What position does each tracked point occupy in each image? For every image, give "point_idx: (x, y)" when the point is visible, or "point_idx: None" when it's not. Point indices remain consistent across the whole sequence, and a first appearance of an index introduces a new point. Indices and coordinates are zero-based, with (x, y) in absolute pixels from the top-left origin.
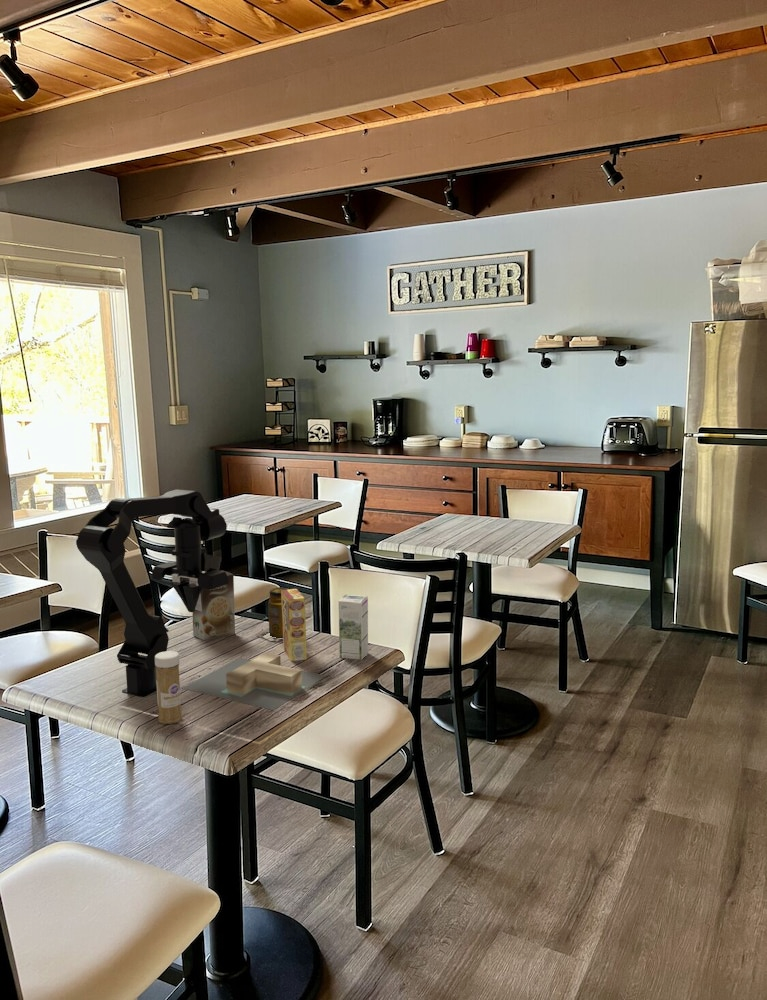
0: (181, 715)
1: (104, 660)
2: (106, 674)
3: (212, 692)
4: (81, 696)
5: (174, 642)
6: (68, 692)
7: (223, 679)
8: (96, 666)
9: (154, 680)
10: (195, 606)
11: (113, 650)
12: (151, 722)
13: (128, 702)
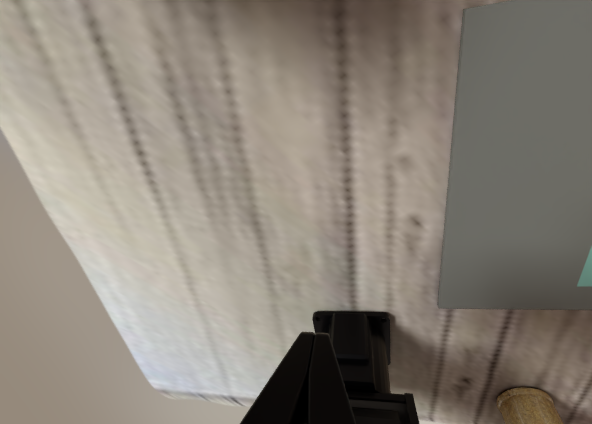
0: (551, 401)
1: (112, 263)
2: (201, 310)
3: (551, 297)
4: None
5: (77, 46)
6: (234, 379)
7: (530, 220)
8: (139, 291)
9: (386, 359)
10: (339, 370)
11: (51, 210)
12: (488, 411)
13: None
